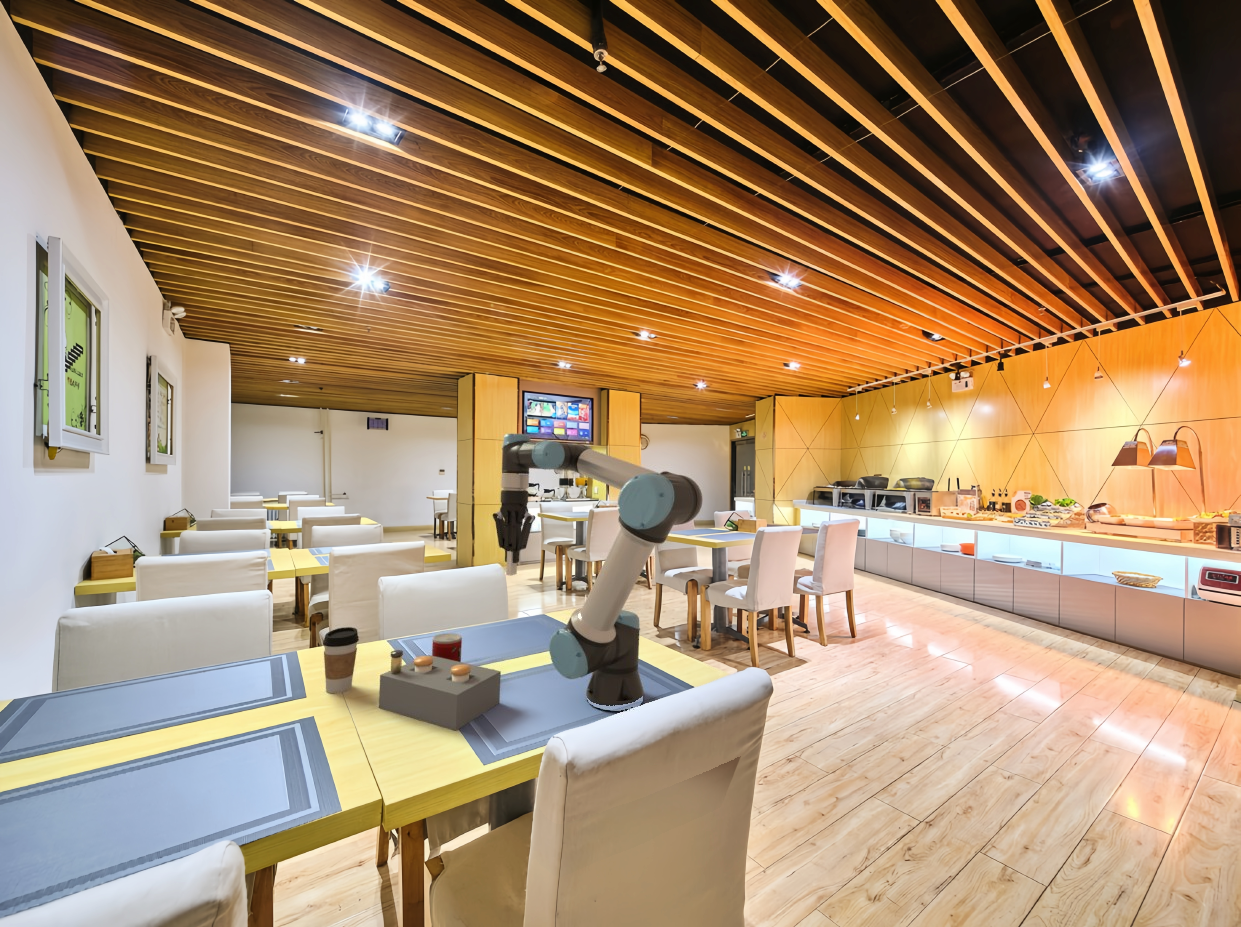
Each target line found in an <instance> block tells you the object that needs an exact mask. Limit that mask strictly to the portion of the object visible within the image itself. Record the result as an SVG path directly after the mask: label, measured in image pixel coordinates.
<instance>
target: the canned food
mask: <svg viewBox="0 0 1241 927" xmlns="http://www.w3.org/2000/svg"><path fill="white" fill-rule="evenodd" d="M462 639H463V637H462V635H461V634H458V633H453V632H449V633H448V632H446V633H439V634H435V636H433V638H432V646H431V647H432V648H431V651H432V652H431V656H436V657H440V658H444V659H449V660H453V661H458V662H461V661H462V644H463V642H462V641H463V640H462Z"/></svg>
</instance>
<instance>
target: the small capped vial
mask: <svg viewBox="0 0 1241 927" xmlns="http://www.w3.org/2000/svg"><path fill="white" fill-rule="evenodd" d="M403 655H404V650H402V649H396V650H392V651H391V652H390V657H391V658H390V659H391V660H390V661H391V662H390V663H391V664H390V671H391V674H399V673H401V666H403V665H402V661H403Z"/></svg>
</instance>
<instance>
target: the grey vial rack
mask: <svg viewBox="0 0 1241 927" xmlns="http://www.w3.org/2000/svg"><path fill="white" fill-rule="evenodd" d="M426 656H431V657H433V664H432V670H431V671H429V672H426V673H424V674H422V673H418V672H415V665H414V660H413V661H411V662H408V663H406V664H404V665H402V666H401V673H399V674H391V670H388V671H386V672H384V673H380V675H379V694H378V695H379V696H378V708H379V709H381V710H385V711H387V712H388V711H389V712H391V713H394V714H399V715H402V716H405V717H408V718H412V719H414V720H415V719H416V720H418V721H422V722H426V723H428V724H430V725H431V724H432V725H435V726H438V727H442V728H446V729H448V730H452V731H456V732H457V730H459V729H460V728H462V727H464V726H466V725H467V724H470V722H472V721H473V720H475V719H476V718H478V717H480V716H481V715H483V714H484V713H486V712H488V711H489V710H491V709H492V708H494V707H496V706H497V705H498V704H500V699H501V696H500V695H501V672H502V671H501V670H498V669H497V670H496V669H493V668H488V667H484V666H480V665H475V664H470V663H466V662H463V661H462V662H458V661H453V660H449V659H444V658H440V657H436V656H432V654H431V655H430V654H428V655H426ZM460 664H465V665H469V666H471V672H470V673H469V680H467V681H465V682H463V683H458V682H454V681H452V674H451V668H452V667H453V666H455V665H460Z"/></svg>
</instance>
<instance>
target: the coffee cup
mask: <svg viewBox="0 0 1241 927" xmlns="http://www.w3.org/2000/svg"><path fill="white" fill-rule="evenodd" d="M359 640H360V639H359V634H358V629H357V628H356V627H352V626H350V627H349V626H345V627H338V628H335V629H332V630H330V631H328V632H327V633H326V634H325V635H324V639H323V641H322V645H323V647H324V651H323V661H324V663H323V664H324V675H325V691H326V693H329V694H341V693H344V692H348V691H349V690H351V689H352V687H353V686H352V684H353V677H354V672H355V666H356V664H355V663H356V659H357V658H356V657H357V651H358V648H357V645H358V642H359Z"/></svg>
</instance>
